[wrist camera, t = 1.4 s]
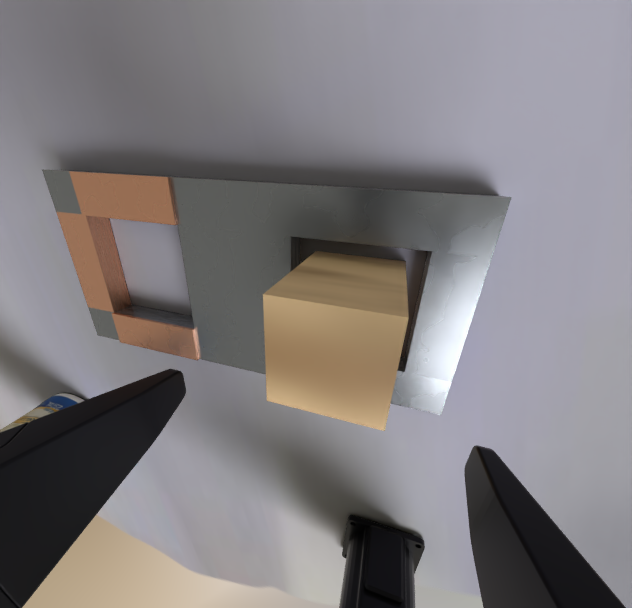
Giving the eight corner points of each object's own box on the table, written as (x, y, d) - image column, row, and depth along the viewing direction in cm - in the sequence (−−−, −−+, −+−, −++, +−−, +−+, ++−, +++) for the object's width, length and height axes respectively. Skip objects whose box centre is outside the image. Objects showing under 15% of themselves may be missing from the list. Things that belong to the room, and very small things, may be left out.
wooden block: (390, 340, 17) (384, 430, 11) (312, 325, 18) (267, 400, 12) (405, 260, 15) (408, 317, 9) (316, 250, 16) (262, 294, 10)
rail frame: (437, 397, 17) (441, 417, 16) (114, 326, 23) (95, 336, 22) (499, 195, 12) (513, 197, 11) (68, 170, 18) (38, 169, 17)
